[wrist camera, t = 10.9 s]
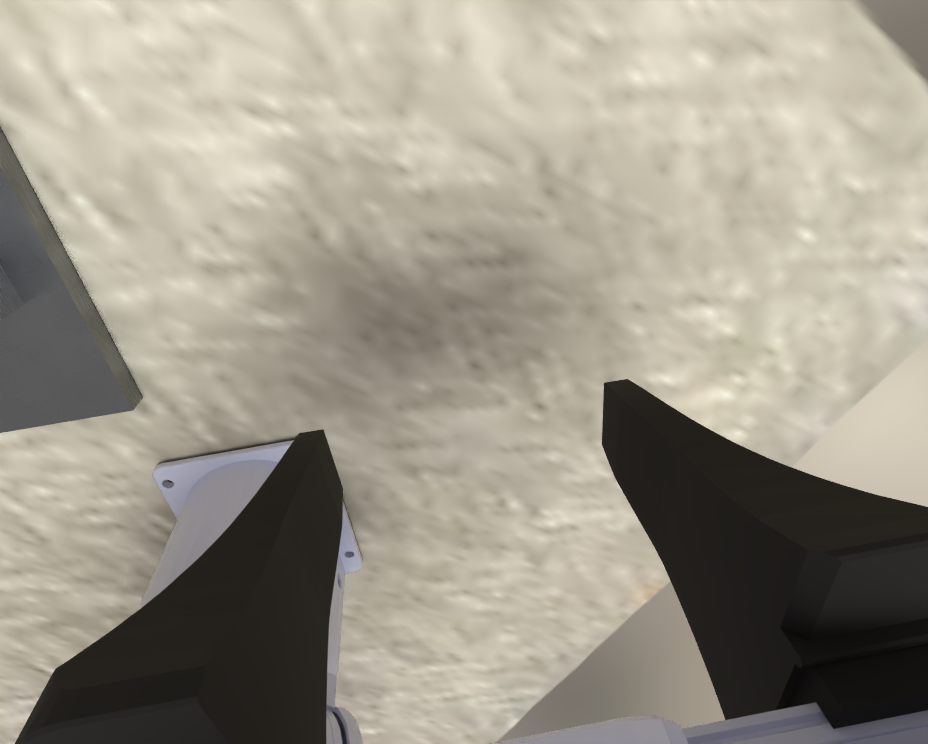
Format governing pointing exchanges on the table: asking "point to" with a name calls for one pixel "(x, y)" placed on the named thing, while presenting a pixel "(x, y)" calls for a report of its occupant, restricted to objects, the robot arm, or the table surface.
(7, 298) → the fitting plate
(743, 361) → the table surface
